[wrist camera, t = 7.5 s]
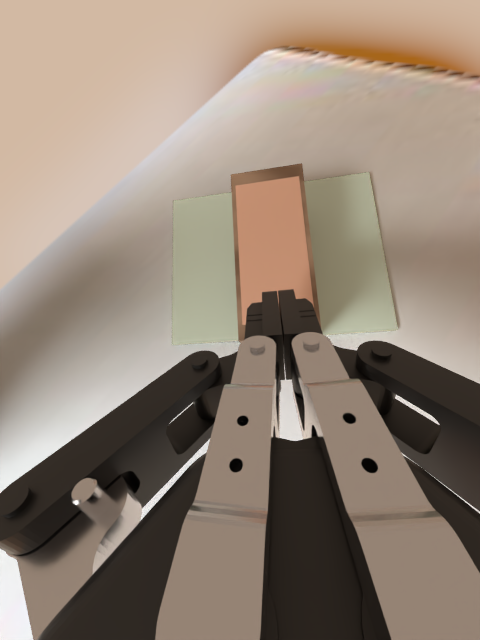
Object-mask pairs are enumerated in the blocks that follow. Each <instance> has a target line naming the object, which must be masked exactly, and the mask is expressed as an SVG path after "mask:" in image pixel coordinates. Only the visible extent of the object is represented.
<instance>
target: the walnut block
mask: <svg viewBox="0 0 480 640" xmlns="http://www.w3.org/2000/svg"><path fill="white" fill-rule="evenodd" d="M231 190H232V212H233V233H234V255H235V276H236V298H237V320H238V341H239V342H240V343H241V342H242V341H244V338H245V326H246V316H247V308H248V307H249V306H250V305H251V303H257V302H262V292H268V291H277V296H278V290H289V289H294V293H295V297H296V299H303V298H306V299H307V300H309V301H310V302H311V303H312V304H313V307H314V311H315V313H316V316H317V318H318V321H319V324H320V327H321V321H320V313H319V304H318V296H317V287H316V279H315V270H314V262H313V253H312V245H311V236H310V228H309V219H308V211H307V202H306V194H305V185H304V177H303V168H302V164H296V165H290V166H283V167H277V168H270V169H264V170H258V171H251V172H245V173H238V174H232V175H231ZM278 304H279V299H278Z"/></svg>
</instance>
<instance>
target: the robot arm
mask: <svg viewBox="0 0 480 640" xmlns="http://www.w3.org/2000/svg"><path fill="white" fill-rule="evenodd" d="M278 299H279V304H278ZM283 354H284V356H283ZM284 363H285V372H286V380H288V379H292V383H293V397H294V401H295V406H296V410H297V414H298V419H299V423H300V427H301V431H302V436H303V440H300V441H290V440H286V439H282V438H279V433H280V391H281V381H280V380H285V374H284ZM396 394H397V395H398V396H400V397H402V398H403V399H405V400H407V401H408V402H410V403H412V404H413V405H415V406H417V407H418V408H420V409H422V410H423V411H425V412H427V413H428V414H430V415H432V416H433V417H434V418H435V419H436V420H437V421H438V422H439V424H440V425H438V424H436V423H434V422H433V421H431V420H429V419H428V418H426V417H424V416H423V415H421V414H420V413H418V412H416V411H415V410H413V409H411V408H410V407H408V406H406V405H405V404H403V403H401V402H400V401H398V400H397V399H395V396H396ZM192 402H193V404H192V405H191V406H190V407H189V408H187V409H186V410H185V411H184V412H183V413H182V414H181V415H179V416H178V417H177V418H176V419H175V420H174V421H173V422H171V421H172V420H173V419H174V418H175V417H176V416H177V415H178V414H180V413H181V412H182V411H183V410H184V409H185V408H186V407H188V406H189V405H190V404H191V403H192ZM170 422H171V423H170ZM169 423H170V424H169ZM209 439H210V442H209V446H208V450H207V453H205V454H204V455H202V456H201V457H200V458H198V459H197V460H196V461H195V462H194V463H193V464H192V465H191V466H190V467H189V468H188V469H187V470H186V471H185V472H184V473H183V474H182V476H181V477H180V478H179V479H178V480H177V481H176V482H175V483H174V484H173V486H172V487H171V488H170V489H169V490H168V491H167V492H166V493H165V494H164V496H163V497H162V498H161V499H160V500H159V501H158V502H157V503H156V504H155V506H154V507H153V508H152V509H151V510H150V511H149V512H148V513H147V515H146V516H145V517H144V518H143V519H142V520H141V521H140V519H141V513H142V508H143V507H144V506H145V505H146V504H147V503H148V502H149V501H150V500H151V499H152V497H153V496H154V495H155V494H156V493H157V492H158V491H159V490H160V489H161V488H162V487H163V486H164V485H165V484H166V483H167V482H168V481H169V480H170V479H171V478H172V477H173V476H174V475H175V474H176V473H177V472H178V471H179V470H180V469H181V468H182V467H183V466H184V465H185V463H186V462H187V461H188V460H189V459H190V458H191V457H192V456H193V455H194V454H195V453H196V452H197V451H198V450H199V449H200V448H201V447H202V446H203V445H204V444H205V443H206V442H207V441H208V440H209ZM401 452H402V453H403V454H404V455H406V456H407V457H408V458H410V459H411V460H412V461H411V460H409V459H408V458H406V457H405V456H403V455H402V453H401ZM413 461H414V462H415V463H414V462H413ZM417 464H418V465H419V466H418V465H417ZM421 467H422V468H423V469H422V468H421ZM425 470H426V471H427V472H428V473H427V472H426V471H425ZM429 473H430V474H431V475H432V476H431V475H430V474H429ZM433 476H434V477H435V478H436V479H438V480H439V481H440V482H442V483H443V484H444V485H446V486H447V487H448V488H449V489H451V490H452V491H453V492H455V493H456V494H457V495H459V496H460V497H461V498H463V499H464V500H465V501H467V502H468V503H469V504H471V505H472V506H473V507H475V508H476V509H477V510H479V511H480V384H479V383H476V382H474V381H472V380H470V379H468V378H465V377H463V376H461V375H459V374H457V373H454V372H452V371H450V370H448V369H446V368H443V367H441V366H439V365H437V364H435V363H432V362H430V361H428V360H426V359H424V358H421V357H419V356H417V355H415V354H413V353H410V352H408V351H406V350H404V349H402V348H399V347H397V346H395V345H393V344H390V343H387V342H383V341H368V342H365V343H363V344H361V345H360V346H359V347H358V350H357V351H356V350H349V349H343V348H339V347H336V346H334V345H332V343H331V341H330V339H329V338H328V337H326V336H325V335H323V333H322V330H321V327H320V324H319V321H318V318H317V316H316V313H315V311H314V307H313V304H312V303H311V302H310V301H309V300H307V299H306V298H303V299H296V297H295V293H294V289H289V290H278V296H277V291H268V292H262V302H257V303H251V305H250V306H249V307H248V308H247V316H246V326H245V338H244V341H242V342H241V344H240V346H239V349H238V351H237V352H236V353H234V354H232V355H229V356H226V357H222V358H219V357H218V356H217V355H216V354H215V353H214V352H211V351H199V352H195V353H193V354H191V355H189V356H188V357H186V358H185V359H184V360H182V361H181V362H179V363H178V364H177V365H175V366H174V367H172V368H171V369H170V370H168V371H167V372H166V373H164V374H163V375H161V376H160V377H159V378H157V379H156V380H154V381H153V382H152V383H150V384H149V385H148V386H146V387H145V388H143V389H142V390H141V391H139V392H138V393H136V394H135V395H134V396H132V397H131V398H129V399H128V400H127V401H125V402H124V403H123V404H121V405H120V406H118V407H117V408H116V409H114V410H113V411H111V412H110V413H109V414H107V415H106V416H105V417H103V418H102V419H100V420H99V421H98V422H96V423H95V424H93V425H92V426H91V427H89V428H88V429H86V430H85V431H84V432H82V433H81V434H80V435H78V436H77V437H75V438H74V439H73V440H71V441H70V442H68V443H67V444H66V445H64V446H63V447H62V448H60V449H59V450H57V451H56V452H55V453H53V454H52V455H50V456H49V457H48V458H46V459H45V460H43V461H42V462H41V463H39V464H38V465H37V466H35V467H34V468H32V469H31V470H30V471H28V472H27V473H25V474H24V475H23V476H21V477H20V478H19V479H17V480H16V481H14V482H13V483H12V484H10V485H9V486H8V487H7V488H6V489H4V490H3V491H2V492H1V493H0V549H2V550H4V551H6V553H7V554H8V555H9V556H11V557H13V558H15V559H16V560H17V562H18V566H19V571H20V576H21V581H22V586H23V591H24V595H25V600H26V605H27V610H28V615H29V620H30V625H31V630H32V635H33V639H34V640H480V514H479V513H478V512H477V511H476V510H474V509H473V508H472V507H470V506H469V505H468V504H467V503H465V502H464V501H463V500H462V499H460V498H459V497H458V496H457V495H455V494H454V493H453V492H452V491H450V490H449V489H448V488H446V487H445V486H444V485H443V484H441V483H440V482H439V481H438V480H436V479H435V478H434V477H433Z"/></svg>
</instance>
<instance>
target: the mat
mask: <svg viewBox="0 0 480 640" xmlns="http://www.w3.org/2000/svg"><path fill="white" fill-rule="evenodd" d="M304 185H305V194H306V202H307V211H308V219H309V228H310V236H311V245H312V253H313V262H314V270H315V279H316V287H317V296H318V304H319V313H320V321H321V330H322V333H323V335H333V334H349V333H364V332H379V331H394V330H398V327H397V321H396V316H395V310H394V305H393V299H392V294H391V289H390V283H389V278H388V272H387V267H386V261H385V256H384V250H383V245H382V239H381V234H380V228H379V223H378V217H377V212H376V206H375V201H374V196H373V190H372V185H371V179H370V174H369V172H365V173H358V174H352V175H345V176H338V177H331V178H325V179H318V180H311V181H304ZM227 341H238V320H237V298H236V276H235V255H234V233H233V212H232V192H229V193H223V194H216V195H209V196H202V197H195V198H189V199H182V200H175V201H173V277H172V345H181V344H196V343H212V342H227Z"/></svg>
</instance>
